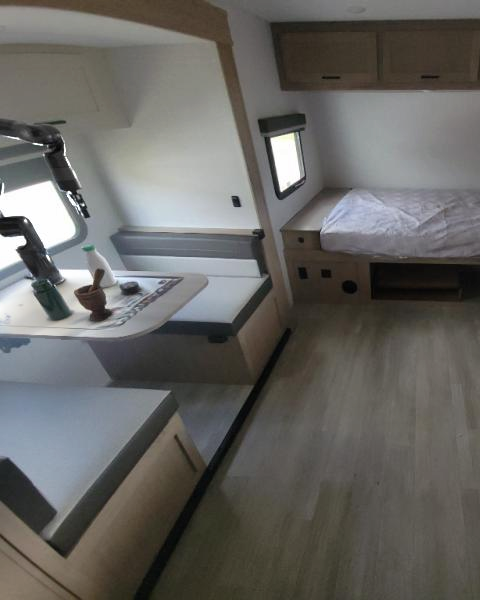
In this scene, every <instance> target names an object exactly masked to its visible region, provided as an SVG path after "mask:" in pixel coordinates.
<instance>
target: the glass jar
mask: <svg viewBox="0 0 480 600" xmlns="http://www.w3.org/2000/svg"><path fill="white" fill-rule="evenodd" d="M30 287H31V288H32V289H33V290H32V291H31V293H32V294H33V296H34V298H35V299H36V300H37V302H38V303H39V305H40V307H41V308H42V310H43V311H44V312H45V315H47V317H48V319H49V320H50V321H59V320H63V319H66V318H68V317H70V316H71V315H72V314H73V312H72V310H71V309H70V306H69V305H68V303H67V302H66V300H65V298H64V297H63V296H62V294H61V292H60V290H59V289H58V287H57V285H51V283H50V281H49V280H47V279H43V280H38V281H35V280H34V281H33V282H31V284H30Z"/></svg>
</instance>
